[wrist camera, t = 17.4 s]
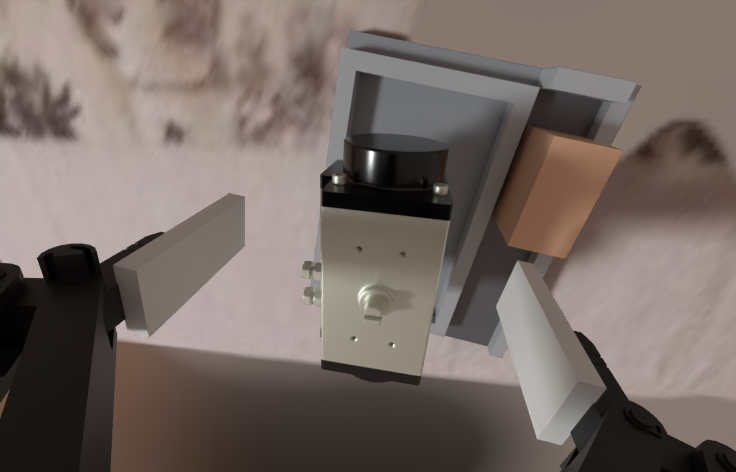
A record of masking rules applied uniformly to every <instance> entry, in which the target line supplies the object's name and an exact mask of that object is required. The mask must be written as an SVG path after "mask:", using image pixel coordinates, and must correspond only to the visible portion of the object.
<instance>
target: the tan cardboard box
mask: <svg viewBox="0 0 736 472" xmlns="http://www.w3.org/2000/svg"><path fill="white" fill-rule="evenodd" d="M622 152H623V150H620V149H618V148H615V147H612V146H609V145H606V144H603V143H600V142H597V141H594V140H591V139H588V138H585V137H582V136H577V135H572V134H567V133H563V132H558V131H553V130H548V129H544V128H539V127H534V126H529V125H527V128H526V130H525V133H524V136H523V138H522V141H521V143H520V146H519V148H518V151H517V154H516V156H515V159H514V161H513V164H512V167H511V169H510V172H509V174H508V177H507V179H506V182H505V185H504V187H503V190H502V192H501V195H500V198H499V200H498V203H497V205H496V208H495V210H494V213H493V218H494V220H495V222H496V224H497V226H498V228H499V230H500V232H501V234H502V236H503V238H504V239H505V241H506V243H507V245H508V246H512V247H516V248H520V249H524V250H529V251H533V252H537V253H542V254H546V255H550V256H555V257H559V258H563V259H566V258H567V256H568V254H569V252H570V250H571V248H572V246H573V245H574V243H575V241H576V239H577V237H578V235H579V233H580V231H581V230H582V228H583V226H584V224H585V222H586V220H587V218H588V216H589V214H590V213H591V211H592V209H593V207H594V205H595V203H596V201H597V199H598V198H599V196H600V194H601V192H602V190H603V188H604V186H605V184H606V183H607V181H608V179H609V177H610V175H611V173H612V171H613V169H614V167H615V166H616V164H617V162H618V160H619V158H620V156H621V154H622Z"/></svg>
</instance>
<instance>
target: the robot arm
mask: <svg viewBox="0 0 736 472" xmlns="http://www.w3.org/2000/svg"><path fill="white" fill-rule="evenodd" d="M244 246H245V197H244V196H239V195H235V194H231V193H229V194H227V195H226V196H224V197H223V198H221V199H219V200H218V201H216V202H214V203H213V204H211V205H210V206H208V207H206V208H205V209H203V210H201V211H200V212H198V213H197V214H195V215H193V216H192V217H190V218H188V219H187V220H185V221H184V222H182V223H180V224H179V225H177V226H175V227H174V228H172V229H171V230H169V231H167V232H166V233H164V232H159V233H156V234H152V235H149V236H146V237H144V238H143V239H141V240H139V241H138V242H136V243H135V244H133V245H131V246H129V247H127V248H126V250H122V251H121V252H119V253H117V254H115V255H114V256H112V257H110V258H109V259H107V260H105V261H104V262H102V263H99V259H98V255H97V251H96V249H95V247H93V246H91V245H87V244H66V245H60V246H57V247H54V248H51V249H48V250H46V251H45V252H43V253H41V254H40V255H39V257H38V258H37V260H38V263H39V265H40V268H41V271H42V274H43V277H44V278H24V276H23V274H22V271H21V269H20V267H19V266H17V265H14V264H9V263H0V402H1V401H2V399H3V398H4V397H5V395H6V394H7V392H8V391H9V389H10V391H9V394H8V397H7V400H6V403H5V406H4V409H3V412H2V415H1V418H0V472H110V469H111V448H112V427H113V407H114V387H115V366H116V346H117V332H116V328H115V327H116V326H117V325H118V324H120V323H121V322H122V321H123V320H124V319H125V322H126V326H127V331H128V332H129V333H132V334H136V335H140V336H144V337H148V338H149V337H150V336H151V335H152V334H153V333H154V332H156V331H157V330H158V329H159V328H160V327H161V326H162V325H163V324H164V323H165V322H166V321H167V320H168V319H169V318H170V317H171V316H172V315H173V314H174V313H175V312H176V311H177V310H178V309H179V308H180V307H182V306H183V305H184V304H185V303H186V302H187V301H188V300H189V299H190V298H191V297H192V296H193V295H194V294H195V293H196V292H197V291H198V290H199V289H200V288H201V287H202V286H203V285H204V284H205V283H206V282H208V281H209V280H210V279H211V278H212V277H213V276H214V275H215V274H216V273H217V272H218V271H219V270H220V269H221V268H222V267H223V266H224V265H225V264H226V263H227V262H228V261H229V260H230V259H231V258H233V257H234V256H235V255H236V254H237V253H238V252H239V251H240V250H241V249H242V248H243V247H244ZM496 308H497V311H498V315H499V318H500V321H501V324H502V327H503V331H504V334H505V337H506V340H507V344H508V347H509V350H510V353H511V356H512V360H513V363H514V366H515V369H516V372H517V376H518V379H519V382H520V385H521V388H522V392H523V395H524V398H525V401H526V404H527V408H528V411H529V414H530V417H531V421H532V424H533V427H534V430H535V433H536V436H537V439H540V440H543V441H547V442H551V443H555V444H559V445H562V444H563V443H564V441H565V440H566V439H567V438H568V436H569V435H570V434H571V435H572V438H573V440H574V443H575V445H576V447H575V449H574V450H573V451H572V452H571V453H570V455H569V456H568V457H567V458H566V459H565V460H564V462H563V463H562V464H561V465H560V467H561V468H562V469H561V471H560V472H736V451H735V450H733V449H731V448H730V447H728V446H726V445H724V444H721V443H719V442H717V441H712V440H706V441H704V442H702V443H701V444H700V445H699V446H698V447H696V448H694V447H692V446H690V445H688V444H686V443H684V442H682V441H680V440H678V439H676V438H674V437H672V436H670V435H668V434H667V432H666V431H665V429H664V427H663V425H662V424H661V423H660V422H659V421H658V420H657V418H656V417H655V416H654V415H652V414H651V413H650V412H649V411H647V410H646V409H645V408H643V407H642V406H640V405H638V404H636V403H634V402H632V401H629V400H628V398H627V397H626V395H625V394H624V392H623V390H622V389H621V387H620V386H619V384H618V382H617V381H616V379H615V378H614V376H613V374H612V373H611V371H610V370H609V368H607V365H606V363H605V362H604V360H603V359H602V358H601V357H600V356H601V355H600V354H599V352H598V351H597V349H596V347H595V346H594V344H593V343H592V342H591V341H590V340H589V339H588V338H587V337H586V336H584V335H583V334H582V333H581V332H577V331H573V330H572V328H571V326H570V324H569V323H568V321H567V319H566V318H565V316H564V314H563V312H562V311H561V309H560V307H559V305H558V304H557V302H556V300H555V299H554V297H553V295H552V293H551V292H550V290H549V288H548V287H547V285H546V283H545V281H544V280H543V278H542V276H541V275H540V273H539V271H538V269H537V268H536V266H535V264H532V263H528V262H523V261H519V260H517V263H516V265H515V267H514V269H513V271H512V273H511V275H510V277H509V280H508V282H507V284H506V286H505V288H504V290H503V292H502V294H501V297H500V299H499V301H498V303H497V305H496Z"/></svg>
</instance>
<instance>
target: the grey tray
mask: <svg viewBox="0 0 736 472" xmlns="http://www.w3.org/2000/svg"><path fill="white" fill-rule="evenodd" d="M636 84H637V82H634V81H629V80H623V79H619V78H614V77H609V76H604V75H599V74H593V73H589V72H584V71H578V70H574V69H569V68H564V67H552V68H544V69H543V68H537V67H533V66H528V65H523V64H517V63H512V62H508V61H503V60H497V59H492V58H487V57H482V56H477V55H472V54H467V53H462V52H457V51H452V50H447V49H442V48H437V47H432V46H427V45H422V44H417V43H412V42H407V41H402V40H397V39H392V38H387V37H382V36H377V35H372V34H367V33H362V32H357V31H352V30H349V36H348V43H347V48H344V47H341V54H340V62H339V69H338V77H337V85H336V93H335V101H334V108H333V116H332V124H331V132H330V140H329V147H328V155H327V163H326V169H327V168H328V167H329V166H331V165H332V164H333V163H334V162H335V161H336V160H343V149H344V139H345V138H346V137H348V136H351V135H356V134H366V133H385V134H401V135H410V136H417V137H423V138H429V139H433V140H437V141H440V142H442V143H444V144H446V145H447V146H448V147H449V152H448V158H447V164H446V170H445V173H446V177H447V181H448V185H449V189H450V193H451V197H452V201H453V208H452V214H451V219H450V225H449V230H448V235H447V241H446V246H445V251H444V257H443V262H442V268H441V273H440V278H439V284H438V289H437V294H436V300H435V305H434V311H433V316H432V321H431V327H430V332H429V333H431V334H435V335H439V336H443V337H444V336H449V337H453V338H457V339H461V340H465V341H469V342H473V343H477V344H481V345H485V346H488V350H489V354H490V355H492V356H496V357H500V358H502V357H503V356H504V354H505V352H506V350H507V348H508V344H507V340H506V337H505V334H504V331H503V327H502V324H501V321H500V318H499V315H498V311H497V308H496V305H497V303H498V301H499V299H500V297H501V294H502V292H503V290H504V288H505V286H506V284H507V282H508V280H509V277H510V275H511V273H512V271H513V269H514V267H515V265H516V263H517V260H519V261H523V262H528V263H532V264H535V266H536V268H537V269H538V271H539V273H540V275H541V276H542V278H543V277H544V275H545V273H546V271H547V269H548V268H549V266H550V264H551V262H552V260H553V258H554V256H550V255H546V254H542V253H537V252H533V251H529V250H524V249H520V248H516V247H512V246H508V245H507V243H506V241H505V239H504V238H503V236H502V234H501V232H500V230H499V228H498V226H497V224H496V222H495V220H494V218H493V213H494V210H495V208H496V205H497V203H498V200H499V198H500V195H501V192H502V190H503V187H504V185H505V182H506V179H507V177H508V174H509V172H510V169H511V167H512V164H513V161H514V159H515V156H516V154H517V151H518V148H519V146H520V143H521V141H522V138H523V136H524V133H525V130H526V128H527V125H529V126H534V127H539V128H544V129H548V130H553V131H558V132H563V133H567V134H572V135H577V136H582V137H585V138H588V139H591V140H594V141H597V142H600V143H603V144H606V145H609V146H611V144H612V142H613V140H614V138H615V136H616V134H617V133H618V130H619V129H620V127H621V125H622V123H623V121H624V119H625V117H626V115H627V113H628V111H629V109H630V107H631V105H632V103H633V101H634V99H635V97H636V95H637V93H638V91H639V89H640V88H641V86H638V85H636ZM316 262H319V263H320V218H319V225H318V233H317V241H316V249H315V257H314V266H315V263H316ZM311 287H313V288H315V290H316V289H317V288H320V289H321V281H319V280H314V279H313V277H312V280H311ZM312 304H313V303H312Z"/></svg>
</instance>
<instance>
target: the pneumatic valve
mask: <svg viewBox="0 0 736 472" xmlns="http://www.w3.org/2000/svg"><path fill="white" fill-rule="evenodd" d="M448 152H449V147H448V146H447V145H446V144H444V143H442V142H440V141H437V140H433V139H429V138H423V137H417V136H410V135H401V134H385V133H366V134H356V135H351V136H348V137H346V138H345V139H344V149H343V160H336V161H335V162H334V163H333V164H332V165H331V166H329V167H328V168H327V169H326V170H325V171H324V172H323V173H322V174H320V263H319V262H316V263H315V266H314V262H312V261H305V262H304V264H303V268H302V277H303V278H305V279H312V277H313V279H314V280H319V281H321V289H320V288H317V289H316V290H315V288H313V287H306V288H305V290H304V293H303V303H304V304H306V305H311V304H312V303H313V304H314V305H315V306H321V367H322V369H325V370H330V371H337V372H342V373H348V374H352V375H354V376H355V377H357V378H359V379H362V380H365V381H369V382H377V383H380V382H381V383H382V382H389V381H395V382H400V383H407V384H412V385H420V380H421V375H422V370H423V364H424V359H425V354H426V348H427V343H428V337H429V332H430V327H431V321H432V316H433V311H434V305H435V300H436V294H437V289H438V284H439V278H440V273H441V268H442V262H443V257H444V251H445V246H446V241H447V235H448V230H449V225H450V219H451V214H452V208H453V201H452V197H451V193H450V189H449V185H448V181H447V177H446V173H445V170H446V164H447V158H448Z"/></svg>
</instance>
